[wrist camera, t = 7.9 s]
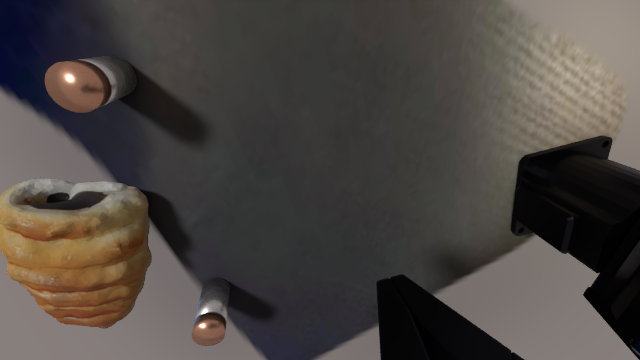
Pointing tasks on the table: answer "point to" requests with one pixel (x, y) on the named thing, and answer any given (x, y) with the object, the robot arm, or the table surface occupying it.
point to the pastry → (77, 247)
